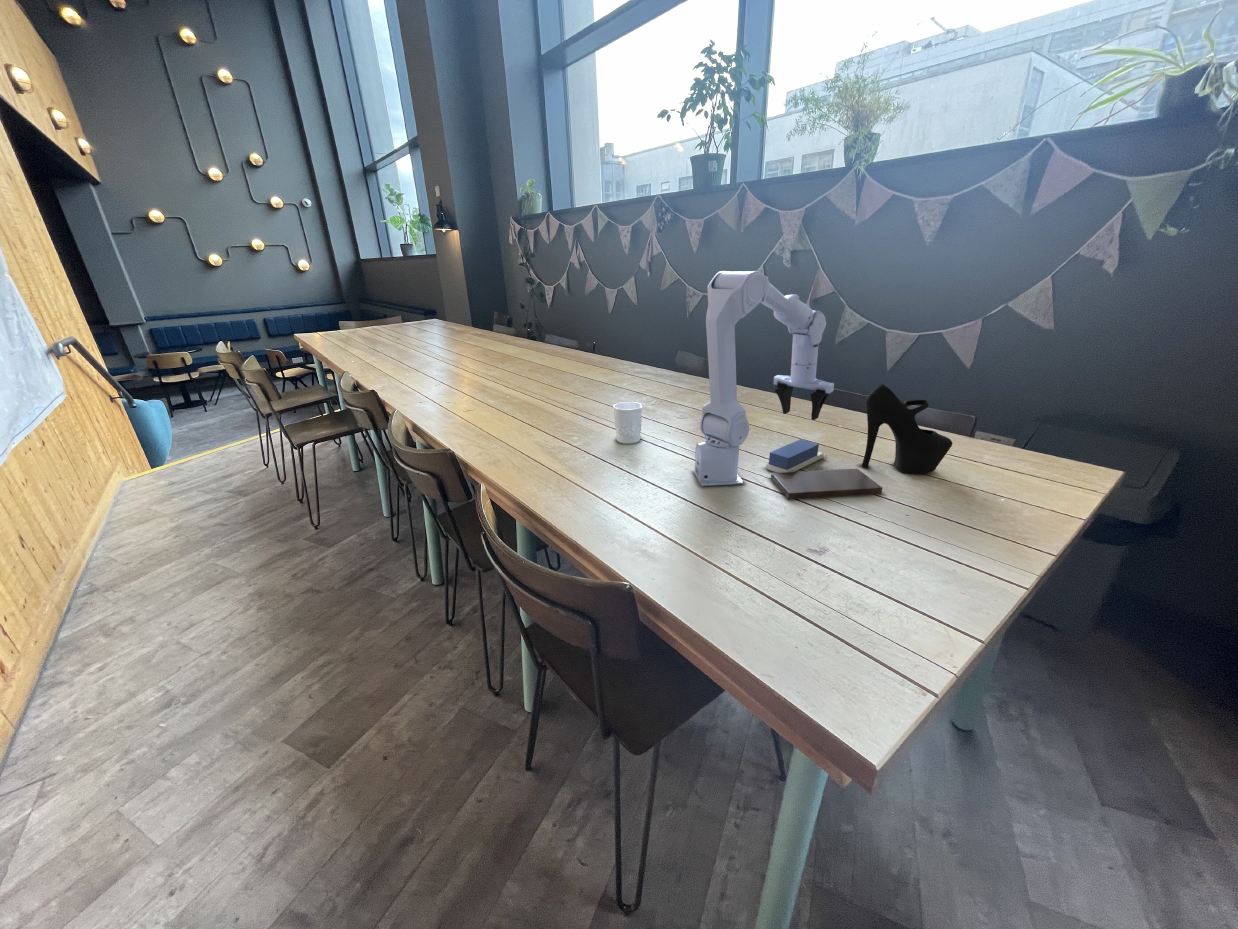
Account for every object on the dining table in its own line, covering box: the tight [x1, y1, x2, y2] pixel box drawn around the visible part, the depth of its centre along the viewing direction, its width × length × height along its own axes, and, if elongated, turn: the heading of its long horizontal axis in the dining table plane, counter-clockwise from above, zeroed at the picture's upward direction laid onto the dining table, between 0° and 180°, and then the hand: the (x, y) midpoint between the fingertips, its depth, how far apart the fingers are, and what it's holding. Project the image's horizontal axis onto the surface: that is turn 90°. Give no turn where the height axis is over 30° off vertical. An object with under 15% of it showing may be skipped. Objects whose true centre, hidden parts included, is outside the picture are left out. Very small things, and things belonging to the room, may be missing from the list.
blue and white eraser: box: [765, 438, 825, 473], centre depth 114 cm, size 16×6×4 cm, turn 129°
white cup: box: [612, 401, 643, 445], centre depth 131 cm, size 8×8×10 cm
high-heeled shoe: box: [861, 383, 953, 475], centre depth 106 cm, size 8×19×20 cm, turn 79°
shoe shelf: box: [770, 468, 883, 500], centre depth 102 cm, size 20×10×2 cm, turn 94°
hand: (800, 415), depth 118 cm, fingers open, 7 cm apart
